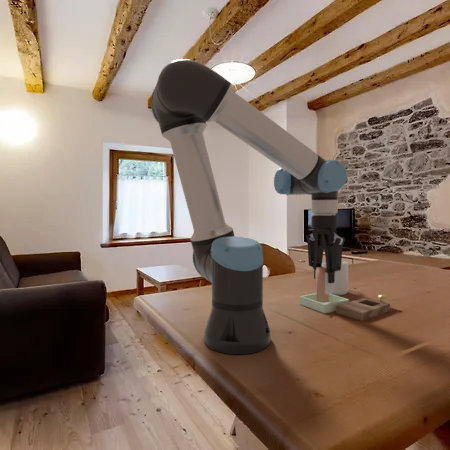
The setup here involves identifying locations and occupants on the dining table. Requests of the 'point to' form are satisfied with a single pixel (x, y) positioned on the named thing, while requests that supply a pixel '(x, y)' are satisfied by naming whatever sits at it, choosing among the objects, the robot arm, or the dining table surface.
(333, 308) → the tray
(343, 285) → the mug
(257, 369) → the dining table surface
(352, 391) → the dining table surface
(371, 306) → the wooden block with recess
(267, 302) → the dining table surface
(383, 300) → the bench dog
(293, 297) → the dining table surface
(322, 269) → the pink tapered rounded cylinder
